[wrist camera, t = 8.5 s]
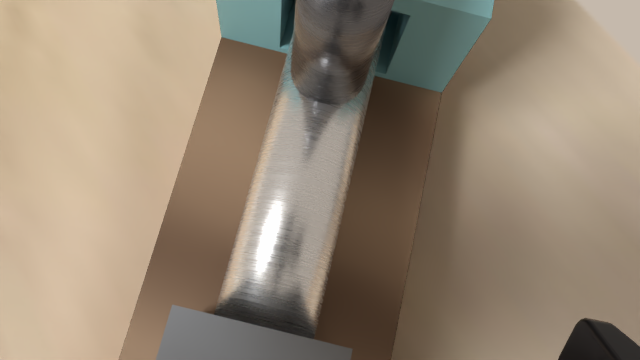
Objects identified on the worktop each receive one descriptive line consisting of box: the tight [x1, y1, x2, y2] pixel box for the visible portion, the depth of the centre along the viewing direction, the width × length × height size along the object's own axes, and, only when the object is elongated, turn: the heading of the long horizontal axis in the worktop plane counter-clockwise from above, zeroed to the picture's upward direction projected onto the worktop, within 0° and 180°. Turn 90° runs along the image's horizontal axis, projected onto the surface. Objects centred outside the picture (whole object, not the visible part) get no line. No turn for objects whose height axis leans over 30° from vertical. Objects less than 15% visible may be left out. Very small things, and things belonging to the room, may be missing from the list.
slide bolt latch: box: [119, 37, 441, 360], centre depth 17 cm, size 24×8×6 cm, turn 167°
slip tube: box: [214, 0, 395, 339], centre depth 15 cm, size 13×3×8 cm, turn 167°
